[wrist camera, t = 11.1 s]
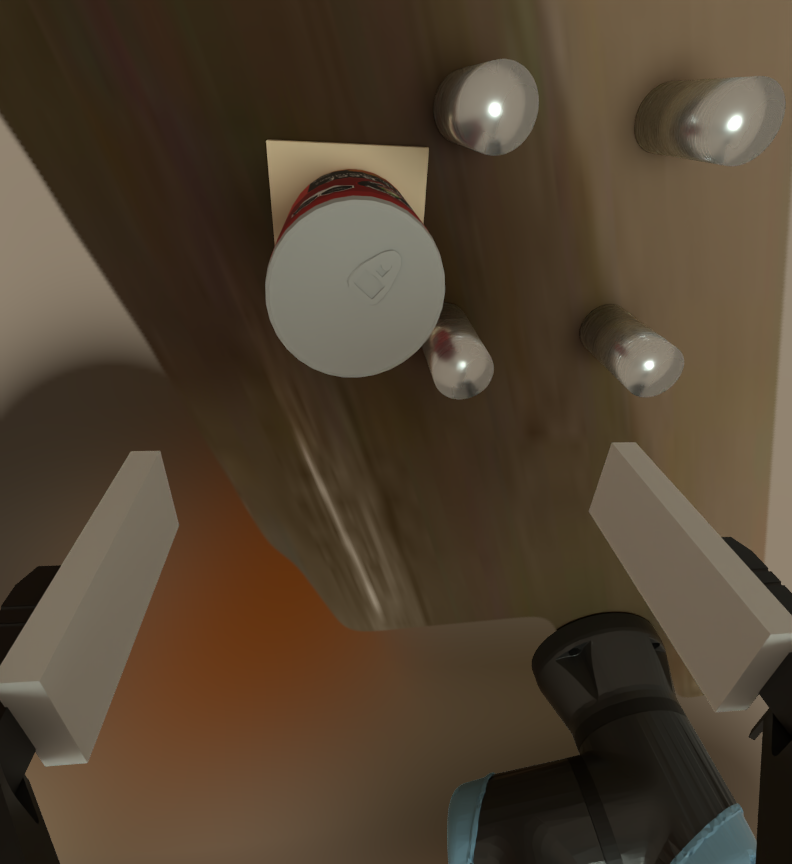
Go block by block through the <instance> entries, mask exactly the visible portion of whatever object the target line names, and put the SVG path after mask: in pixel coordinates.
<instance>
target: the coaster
mask: <svg viewBox="0 0 792 864" xmlns="http://www.w3.org/2000/svg"><path fill="white" fill-rule="evenodd" d="M266 147H267V158H268V170H269V182H270V194H271V206H272V218H273V230H274V242H275V244H276V242H277V239H278V237H279V235H280V232H281V230H282V228H283V226H284V223H285V221H286V219H287V217H288V214H289V212H290V210H291V207H292V205H293V204H294V202H295V201H296V199H297V198H298V196H299V195H300V193H301V192H302V191H303V190H304V189H305V188H306V187H307V186H308V185H309V184H311V183H312V182H313V181H315V180H316V179H318V178H319V177H321V176H323V175H326V174H328V173H331V172H333V171H338V170H345V169H357V170H364V171H368V172H371V173H374V174H377V175H378V176H380V177H382V178H384V179H386V180H387V181H388V182H390V183H391V184H392V185H393V186H394V187H395V188H396V189H397V190H398V191H399V192H400V194H401V195H402V196H403V197H404V199H405V200H406V201H407V203H408V204H409V205H410V207H411V208H412V209H413V211H414V212H415V213H416V215H417V216H418V218H419V219H420V220H421V222H422V223H423V224H424V210H425V196H426V182H427V168H428V154H429V148H428V147H419V146H397V145H376V144H354V143H332V142H310V141H289V140H266Z"/></svg>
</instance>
